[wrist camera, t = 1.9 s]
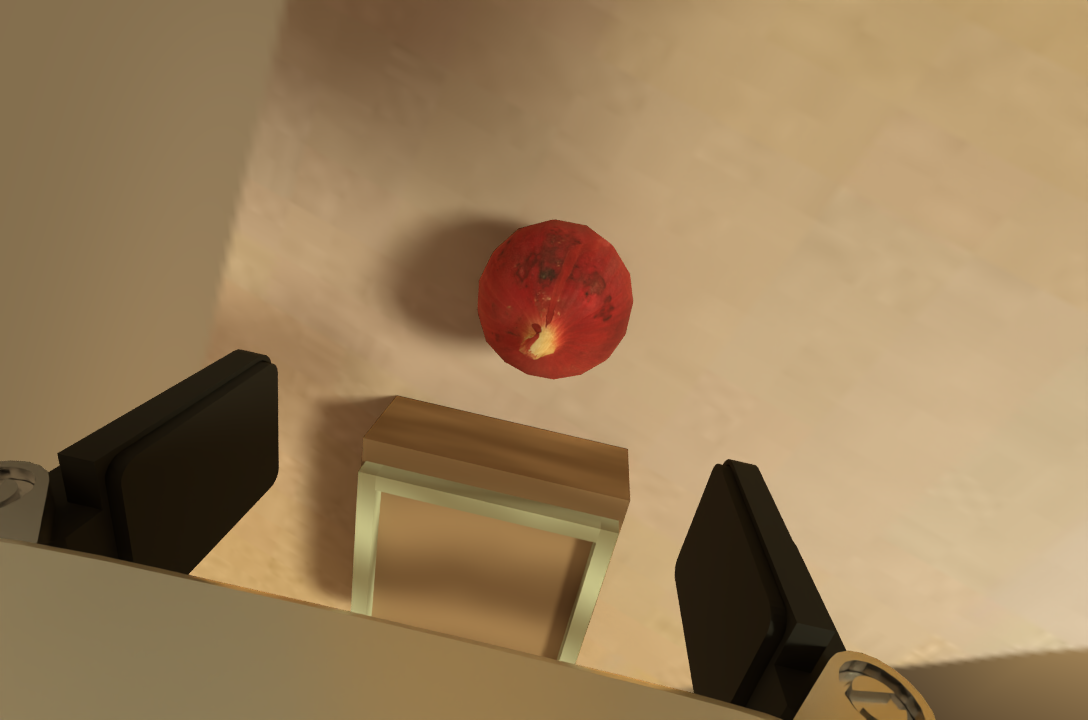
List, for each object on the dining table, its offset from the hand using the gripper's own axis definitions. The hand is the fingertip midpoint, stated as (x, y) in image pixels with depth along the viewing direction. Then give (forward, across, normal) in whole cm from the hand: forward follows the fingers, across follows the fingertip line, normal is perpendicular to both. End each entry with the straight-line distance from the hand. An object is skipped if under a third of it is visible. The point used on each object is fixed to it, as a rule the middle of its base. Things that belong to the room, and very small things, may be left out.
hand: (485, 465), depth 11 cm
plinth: (+14, 0, +14) cm, 20 cm away
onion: (+14, -1, -1) cm, 14 cm away
